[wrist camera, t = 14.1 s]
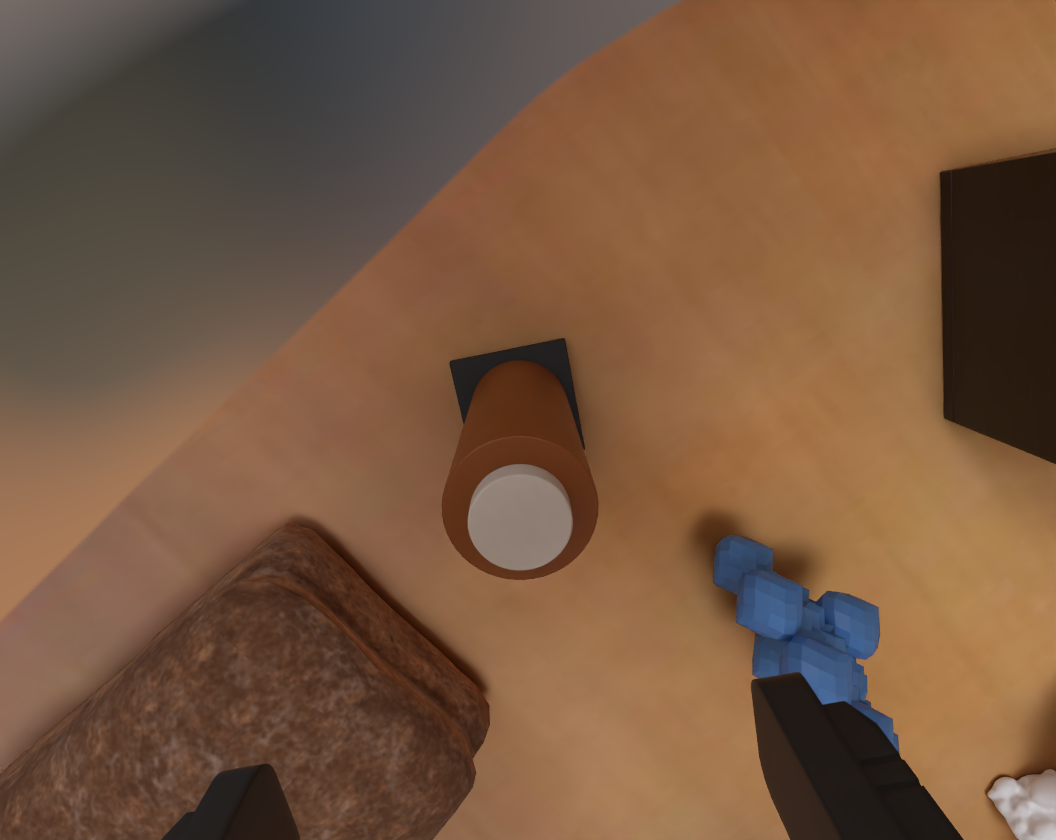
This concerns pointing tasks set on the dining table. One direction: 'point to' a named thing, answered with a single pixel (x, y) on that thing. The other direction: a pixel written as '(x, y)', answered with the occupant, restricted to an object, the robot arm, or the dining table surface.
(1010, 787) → the white lumpy sculpture
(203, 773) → the bread
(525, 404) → the amber bottle
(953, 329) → the black hinged box
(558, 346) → the coaster
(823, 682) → the grapes
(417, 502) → the dining table surface
